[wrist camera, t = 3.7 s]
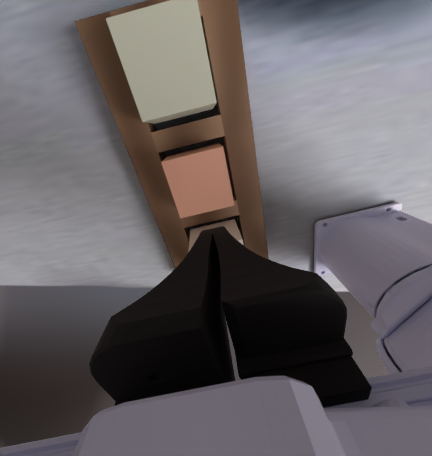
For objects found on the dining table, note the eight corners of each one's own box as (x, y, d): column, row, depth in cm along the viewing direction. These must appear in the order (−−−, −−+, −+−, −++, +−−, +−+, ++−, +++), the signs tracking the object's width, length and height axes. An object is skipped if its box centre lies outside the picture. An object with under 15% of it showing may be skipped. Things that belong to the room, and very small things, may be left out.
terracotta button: (218, 142, 17) (223, 146, 14) (228, 191, 19) (234, 205, 16) (168, 155, 17) (160, 162, 14) (183, 202, 19) (180, 218, 16)
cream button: (234, 218, 19) (242, 239, 16) (241, 255, 21) (250, 280, 18) (190, 229, 19) (188, 251, 16) (201, 264, 21) (202, 291, 18)
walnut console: (229, -3, 13) (234, -24, 12) (263, 253, 23) (269, 264, 22) (90, 35, 14) (74, 21, 12) (183, 272, 24) (182, 284, 22)
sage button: (196, 30, 13) (195, -8, 9) (212, 109, 15) (216, 102, 11) (131, 48, 13) (105, 18, 9) (155, 123, 15) (142, 121, 11)
